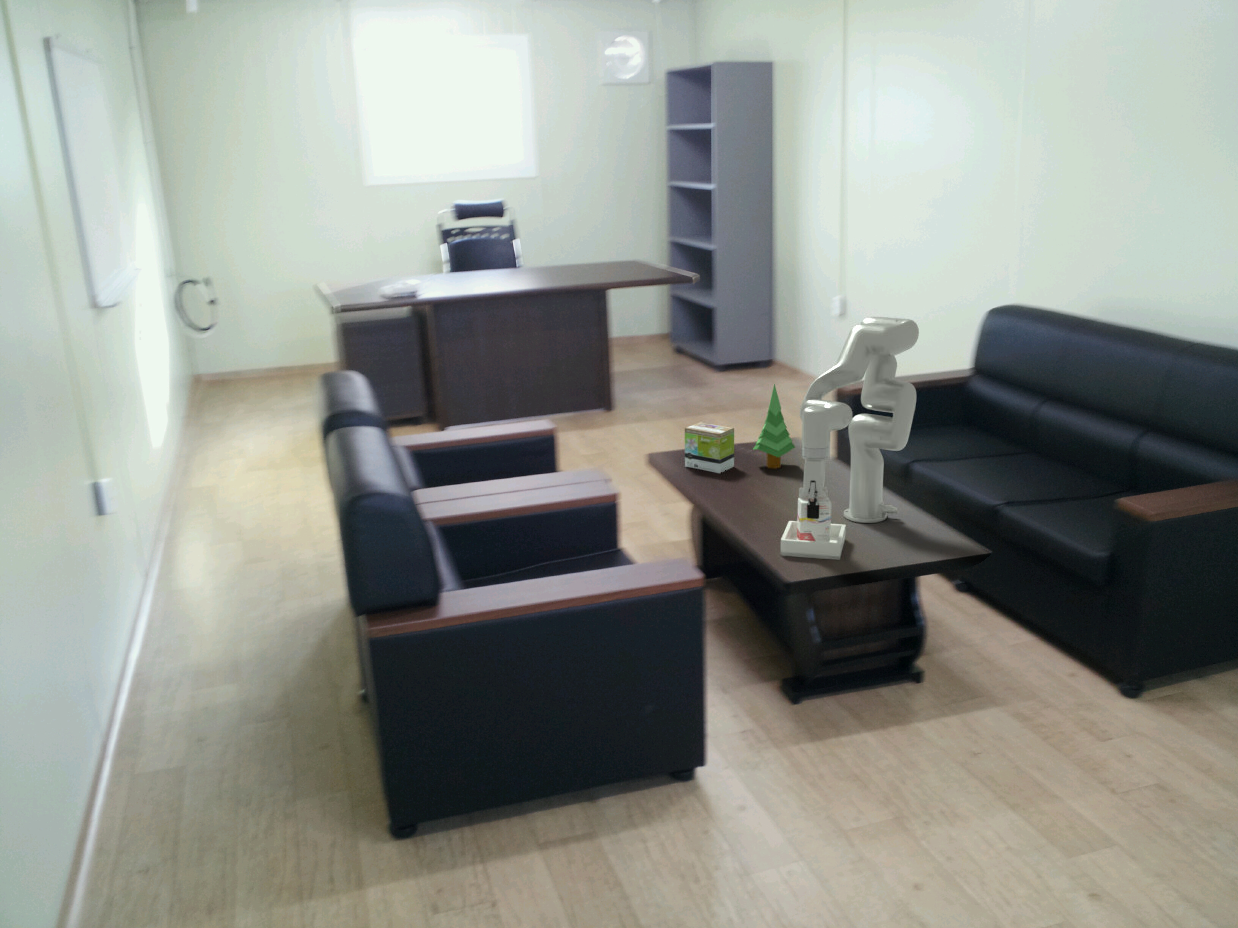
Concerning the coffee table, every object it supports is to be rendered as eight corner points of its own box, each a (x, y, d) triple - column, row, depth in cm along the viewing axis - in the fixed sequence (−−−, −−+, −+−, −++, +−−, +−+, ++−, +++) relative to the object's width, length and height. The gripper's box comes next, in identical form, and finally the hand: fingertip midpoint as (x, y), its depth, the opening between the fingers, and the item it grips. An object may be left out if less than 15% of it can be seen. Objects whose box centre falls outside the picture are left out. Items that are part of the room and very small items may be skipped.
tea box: (683, 467, 369) (683, 427, 364) (699, 460, 376) (699, 421, 372) (720, 474, 360) (719, 432, 356) (735, 467, 367) (735, 426, 363)
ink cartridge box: (800, 543, 287) (800, 492, 283) (796, 537, 292) (797, 487, 288) (830, 541, 287) (832, 491, 283) (827, 535, 292) (828, 485, 288)
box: (845, 539, 295) (845, 524, 294) (839, 559, 280) (840, 544, 279) (788, 535, 300) (789, 520, 298) (780, 555, 285) (780, 539, 284)
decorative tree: (787, 459, 374) (788, 377, 366) (797, 471, 359) (799, 387, 351) (750, 461, 373) (750, 379, 365) (759, 473, 358) (759, 389, 350)
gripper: (805, 442, 291) (804, 503, 296) (797, 460, 275) (796, 523, 281) (833, 444, 289) (831, 505, 294) (826, 461, 273) (824, 525, 278)
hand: (814, 513), depth 287 cm, fingers closed on ink cartridge box, 6 cm apart
